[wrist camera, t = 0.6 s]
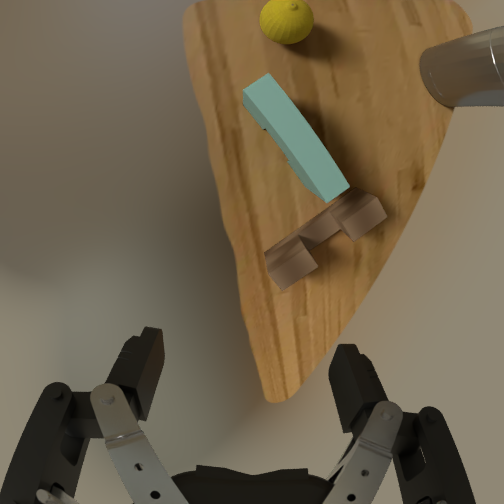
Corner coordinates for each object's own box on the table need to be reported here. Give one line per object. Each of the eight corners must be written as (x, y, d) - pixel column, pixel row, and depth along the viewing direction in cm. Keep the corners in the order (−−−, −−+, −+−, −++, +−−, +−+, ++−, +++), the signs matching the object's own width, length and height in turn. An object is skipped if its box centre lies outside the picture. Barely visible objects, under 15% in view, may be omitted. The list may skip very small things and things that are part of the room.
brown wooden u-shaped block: (355, 187, 32) (377, 197, 26) (365, 204, 33) (387, 217, 27) (264, 252, 35) (268, 274, 29) (276, 267, 36) (282, 291, 30)
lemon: (308, 52, 26) (326, 28, 18) (260, 53, 26) (266, 28, 18) (300, 15, 24) (315, -15, 16) (254, 16, 24) (258, -16, 16)
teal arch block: (243, 104, 28) (243, 89, 20) (261, 92, 28) (268, 73, 19) (305, 187, 32) (326, 203, 24) (322, 174, 31) (350, 186, 23)
